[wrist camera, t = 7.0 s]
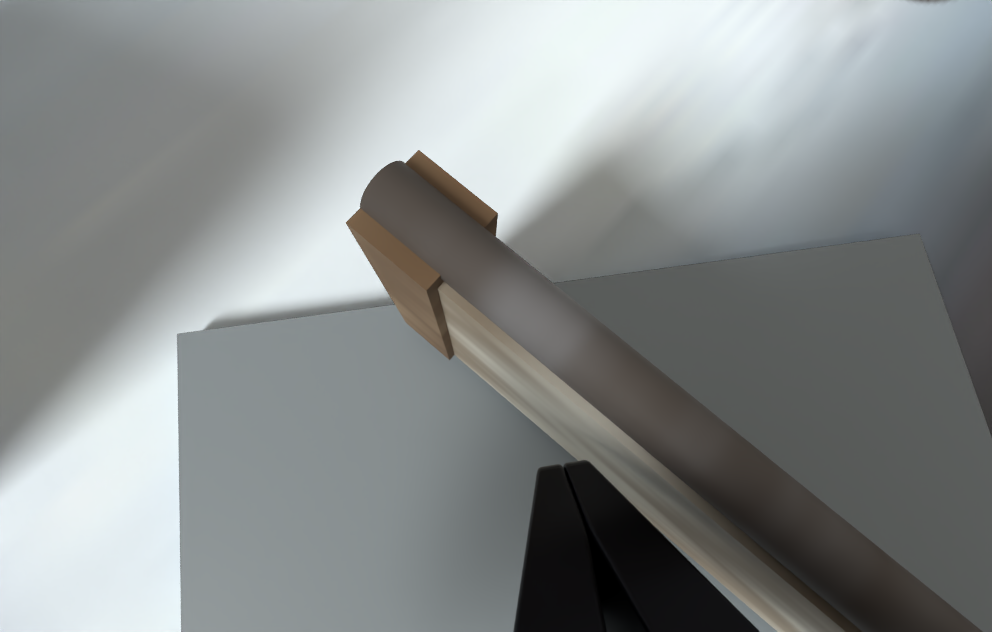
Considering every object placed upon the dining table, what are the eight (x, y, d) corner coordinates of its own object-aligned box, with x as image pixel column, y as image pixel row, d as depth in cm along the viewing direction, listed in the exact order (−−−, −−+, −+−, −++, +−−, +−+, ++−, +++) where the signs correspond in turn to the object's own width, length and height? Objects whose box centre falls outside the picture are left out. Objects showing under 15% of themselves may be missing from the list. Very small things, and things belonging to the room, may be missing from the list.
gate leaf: (966, 717, 13) (1574, 1061, 6) (935, 778, 12) (1537, 1221, 5) (444, 280, 15) (415, 134, 8) (405, 322, 14) (338, 211, 7)
